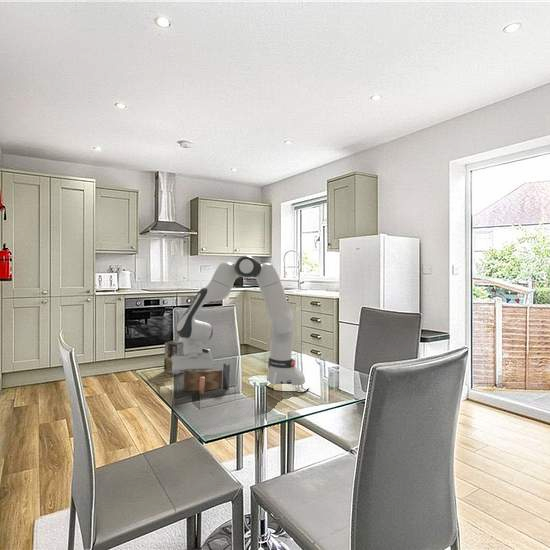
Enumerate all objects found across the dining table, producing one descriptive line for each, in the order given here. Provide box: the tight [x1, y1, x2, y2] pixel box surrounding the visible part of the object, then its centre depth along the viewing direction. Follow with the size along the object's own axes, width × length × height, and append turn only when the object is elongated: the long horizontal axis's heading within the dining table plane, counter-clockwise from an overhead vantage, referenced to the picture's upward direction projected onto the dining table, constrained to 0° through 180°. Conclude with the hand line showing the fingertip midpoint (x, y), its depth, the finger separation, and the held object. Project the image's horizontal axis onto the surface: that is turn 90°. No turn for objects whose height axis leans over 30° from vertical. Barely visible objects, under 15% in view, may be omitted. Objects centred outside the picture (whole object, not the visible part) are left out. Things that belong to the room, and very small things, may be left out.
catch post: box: [198, 377, 205, 395], centre depth 188 cm, size 2×2×7 cm
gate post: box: [221, 362, 231, 390], centre depth 196 cm, size 3×3×12 cm
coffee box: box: [163, 340, 184, 375], centre depth 216 cm, size 9×6×16 cm
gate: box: [183, 369, 223, 392], centre depth 192 cm, size 18×2×9 cm, turn 111°
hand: (194, 379), depth 191 cm, fingers closed, pressing on gate
